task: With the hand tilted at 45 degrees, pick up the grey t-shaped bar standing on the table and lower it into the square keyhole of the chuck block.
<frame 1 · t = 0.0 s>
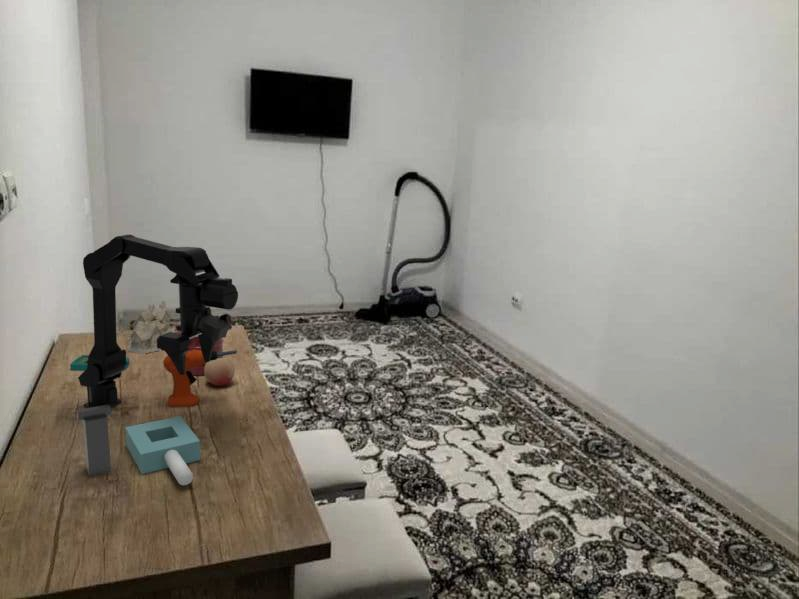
hand: (194, 368, 147), 15 cm above the table, tool pointing down, fingers open, 9 cm apart
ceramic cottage: (147, 345, 205), on the table
canister: (201, 368, 187), on the table
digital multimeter: (100, 368, 184), on the table
fruit: (219, 384, 176), on the table
chuck block: (162, 452, 137), on the table
toy drill: (202, 402, 164), on the table
grey t-shaped bar: (98, 469, 129), on the table
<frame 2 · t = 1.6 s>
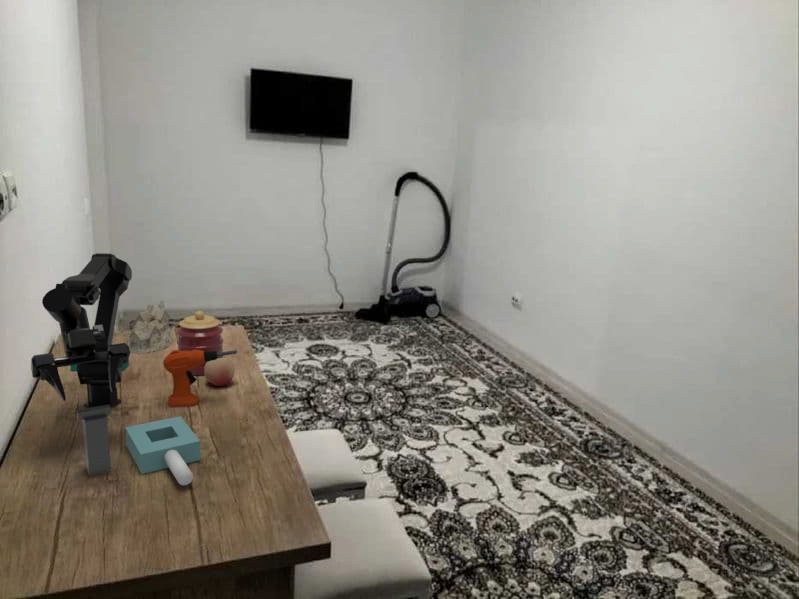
hand: (89, 395, 132), 13 cm above the table, tool tilted 45°, fingers open, 9 cm apart
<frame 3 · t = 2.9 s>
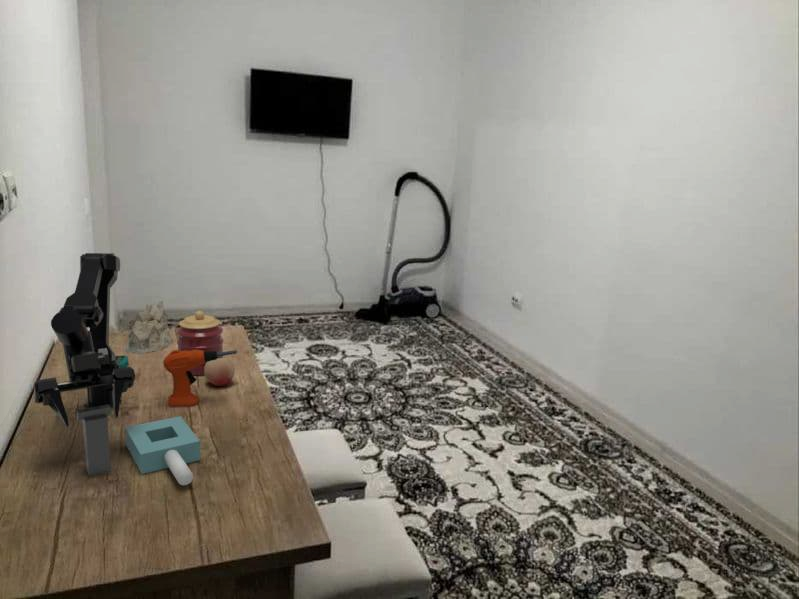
hand: (92, 421, 128), 10 cm above the table, tool tilted 45°, fingers open, 9 cm apart
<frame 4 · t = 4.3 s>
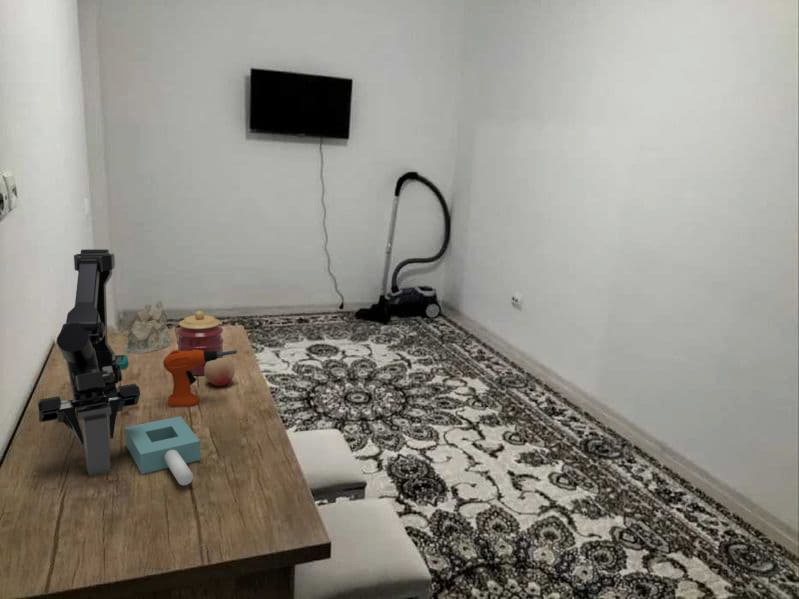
hand: (97, 440, 126), 7 cm above the table, tool tilted 45°, fingers closed on grey t-shaped bar, 5 cm apart
grey t-shaped bar: (98, 469, 129), on the table, touching gripper
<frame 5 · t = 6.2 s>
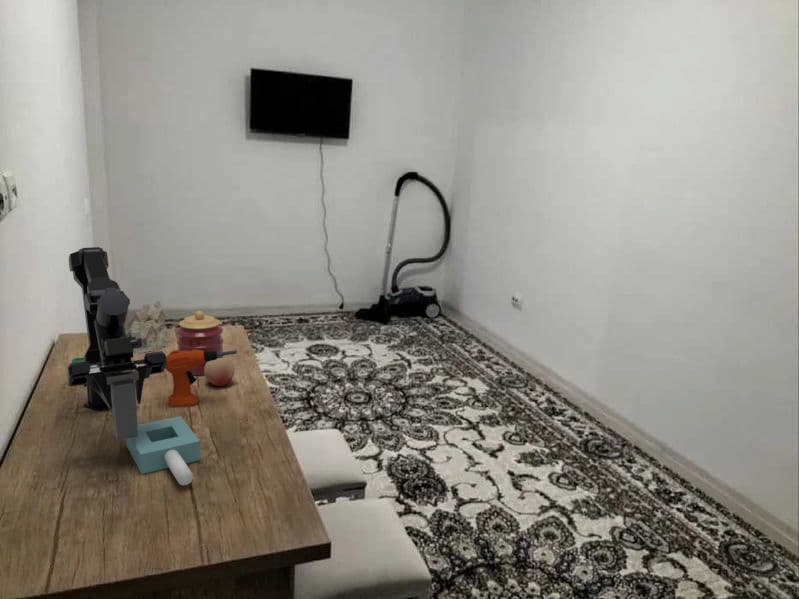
hand: (125, 405, 128), 13 cm above the table, tool tilted 45°, fingers closed on grey t-shaped bar, 5 cm apart
grey t-shaped bar: (125, 434, 131), point 6 cm above the table, touching gripper
when the fingers open (9 cm above the table, at t = 8.3 s): grey t-shaped bar drops 1 cm, resting in chuck block.
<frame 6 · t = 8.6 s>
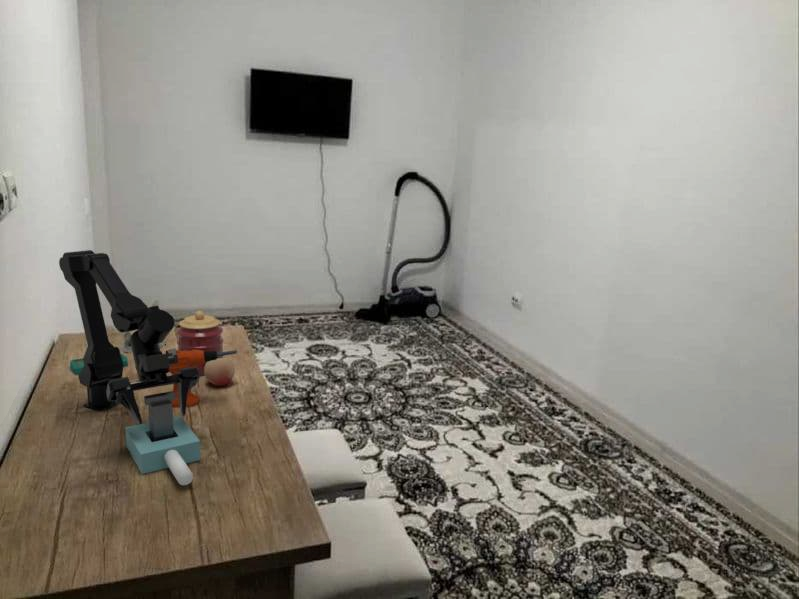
hand: (162, 419, 134), 9 cm above the table, tool tilted 45°, fingers open, 9 cm apart
grey t-shaped bar: (162, 452, 137), resting in chuck block
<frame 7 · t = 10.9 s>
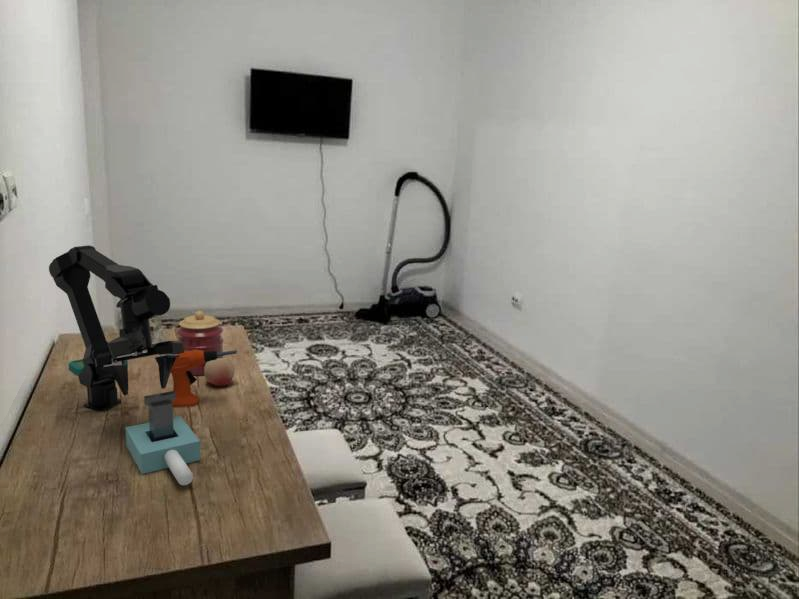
hand: (144, 391, 141), 11 cm above the table, tool tilted 25°, fingers open, 9 cm apart
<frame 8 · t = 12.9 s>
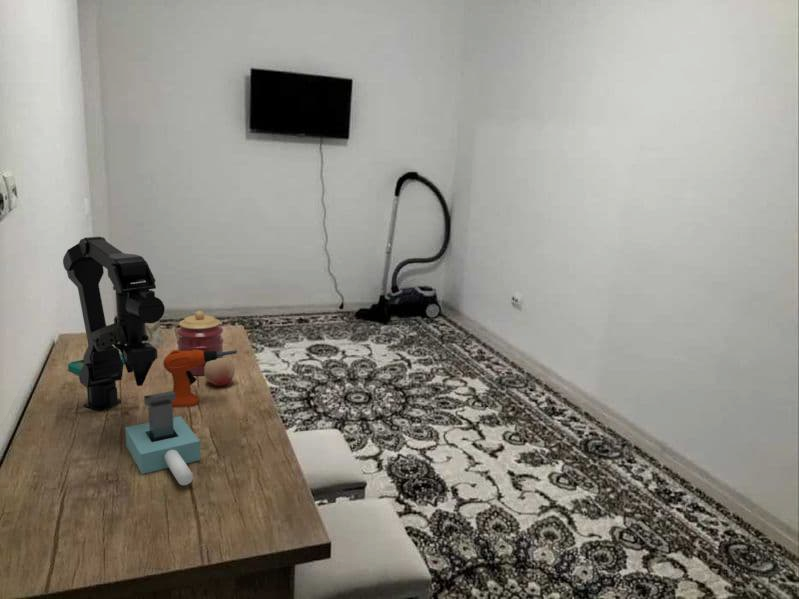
hand: (134, 378, 143), 13 cm above the table, tool pointing down, fingers open, 9 cm apart
at the end: grey t-shaped bar 0.1 cm off-centre on the chuck block, point 0.0 cm above the chuck block's base; grey t-shaped bar tilted 0°; the gripper is holding nothing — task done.
